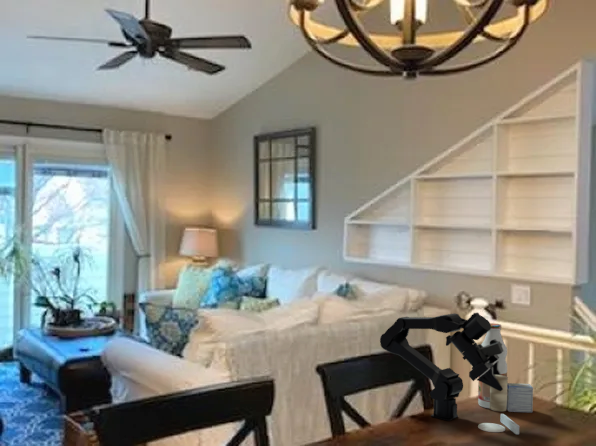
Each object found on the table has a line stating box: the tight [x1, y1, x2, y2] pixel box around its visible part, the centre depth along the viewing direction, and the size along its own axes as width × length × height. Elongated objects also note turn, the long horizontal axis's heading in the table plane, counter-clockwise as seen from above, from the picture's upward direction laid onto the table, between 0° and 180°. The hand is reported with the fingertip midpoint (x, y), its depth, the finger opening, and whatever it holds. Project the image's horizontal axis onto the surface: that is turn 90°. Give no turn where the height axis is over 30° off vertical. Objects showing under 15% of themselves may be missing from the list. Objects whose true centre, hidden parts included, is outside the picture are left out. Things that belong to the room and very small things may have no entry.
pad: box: [477, 422, 506, 433], centre depth 205 cm, size 8×8×1 cm
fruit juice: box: [477, 322, 508, 410], centre depth 228 cm, size 9×9×28 cm
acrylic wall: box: [499, 413, 520, 435], centre depth 205 cm, size 12×1×2 cm, turn 5°
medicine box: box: [506, 382, 534, 413], centre depth 223 cm, size 8×4×9 cm, turn 84°
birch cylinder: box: [489, 375, 509, 412], centre depth 205 cm, size 5×5×10 cm
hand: (503, 388), depth 204 cm, fingers closed on birch cylinder, 5 cm apart
